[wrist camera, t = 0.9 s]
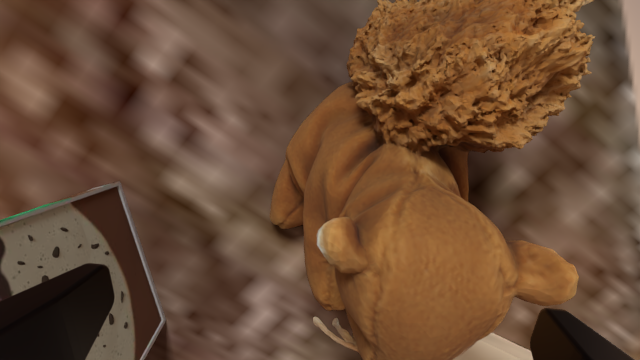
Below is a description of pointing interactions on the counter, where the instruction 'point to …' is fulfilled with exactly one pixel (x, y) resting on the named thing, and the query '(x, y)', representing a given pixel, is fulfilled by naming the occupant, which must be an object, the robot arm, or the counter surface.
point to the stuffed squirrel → (428, 172)
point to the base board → (495, 350)
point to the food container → (87, 247)
